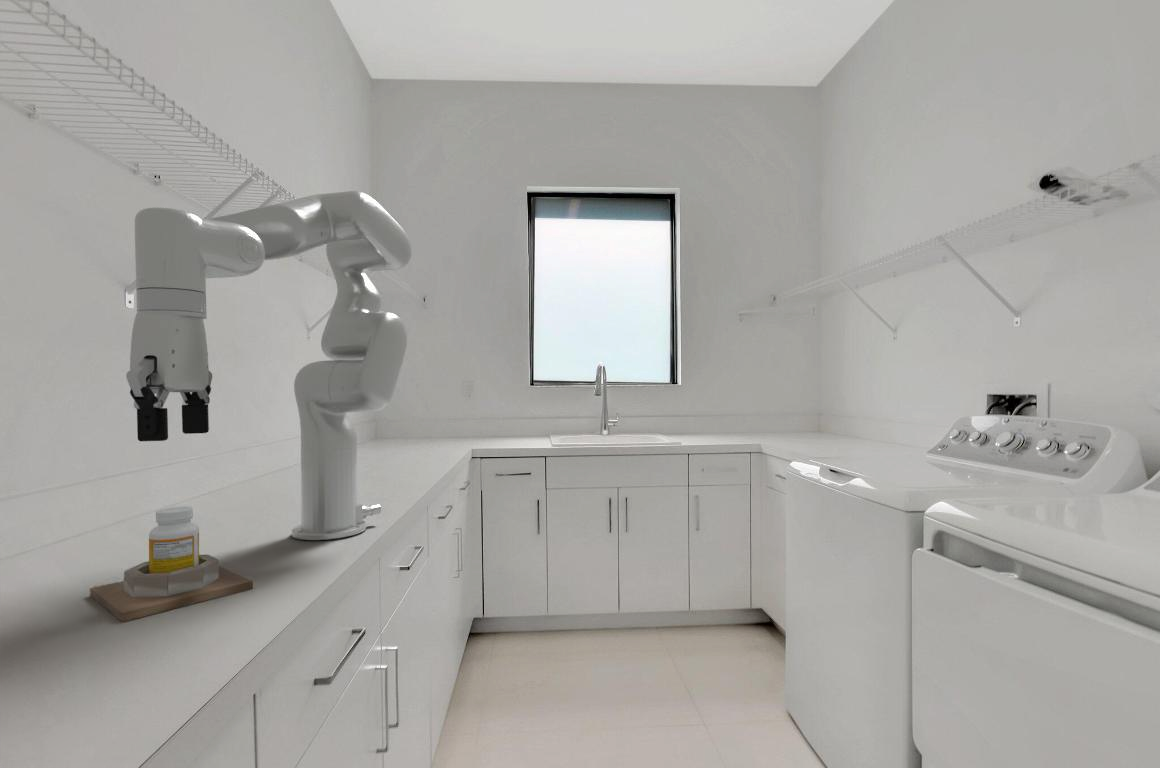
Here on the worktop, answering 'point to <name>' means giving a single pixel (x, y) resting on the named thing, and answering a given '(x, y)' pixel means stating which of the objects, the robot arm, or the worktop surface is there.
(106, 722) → the worktop surface
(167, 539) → the supplement bottle
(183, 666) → the worktop surface
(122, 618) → the ring socket
